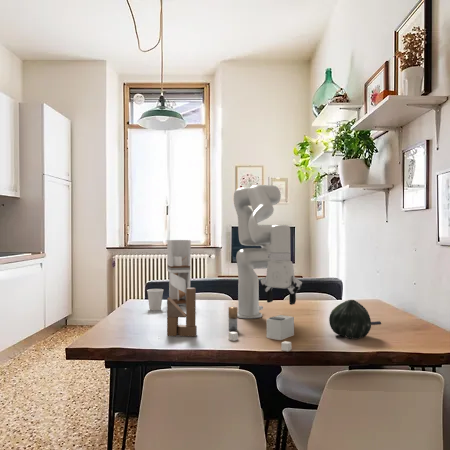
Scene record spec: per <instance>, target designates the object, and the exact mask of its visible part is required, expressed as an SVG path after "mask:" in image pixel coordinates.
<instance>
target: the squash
mask: <svg viewBox="0 0 450 450" xmlns="http://www.w3.org/2000/svg"><path fill="white" fill-rule="evenodd" d="M370 316H371V315H370V314H369V312H368V310H367V309H366V308H365V306H364V305H363V304H361V303H360V302H359V301H357V300H355V299H348V300H346V301H344V302H342V303H340V304H337V306H336V307H334V308H333V309H332V310H331V312H330V314H329V317H328V323H329V327H330V329H331V330H332V331H333V332H334V333H335V334H337V335H338V336H343V337H346V338H347V339H350V340H352V339H355V340H359V339H360V338H365V337H366V336H367V335H368V334H369V333H370V331H371V328H372V325H371V322H372V319H371V317H370Z"/></svg>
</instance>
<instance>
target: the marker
mask: <svg viewBox="0 0 450 450" xmlns="http://www.w3.org/2000/svg"><path fill="white" fill-rule="evenodd" d="M280 343H281V345H280V346H281V349H280V350H281V351H284V352H290V351H292V341H286V340H285V341H282V342H280Z"/></svg>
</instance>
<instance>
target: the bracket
mask: <svg viewBox="0 0 450 450" xmlns="http://www.w3.org/2000/svg"><path fill="white" fill-rule="evenodd" d="M373 325H374V326H375V325H382V321H381V320H378V321H371V326H373Z"/></svg>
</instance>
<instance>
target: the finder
mask: <svg viewBox="0 0 450 450" xmlns="http://www.w3.org/2000/svg"><path fill="white" fill-rule="evenodd" d="M294 335H295V317H294V316H291V315H290V316H289V315H282V314H279V315H276V316H271V317H268V318H266V338H267V339H271V340H277V341H282V340H285V339H287V338H290V337H292V336H294Z"/></svg>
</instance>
